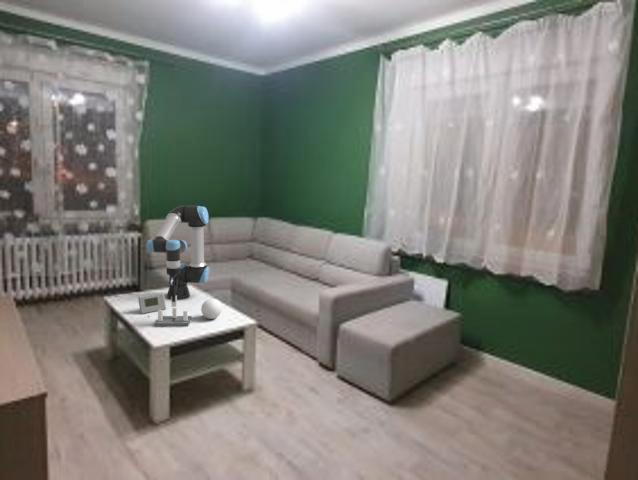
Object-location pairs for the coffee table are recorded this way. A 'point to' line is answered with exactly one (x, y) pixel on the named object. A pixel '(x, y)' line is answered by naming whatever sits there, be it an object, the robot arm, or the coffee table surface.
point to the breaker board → (172, 322)
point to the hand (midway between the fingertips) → (174, 306)
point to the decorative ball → (211, 308)
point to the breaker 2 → (185, 315)
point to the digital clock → (152, 302)
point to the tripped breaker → (174, 312)
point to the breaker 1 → (160, 315)
